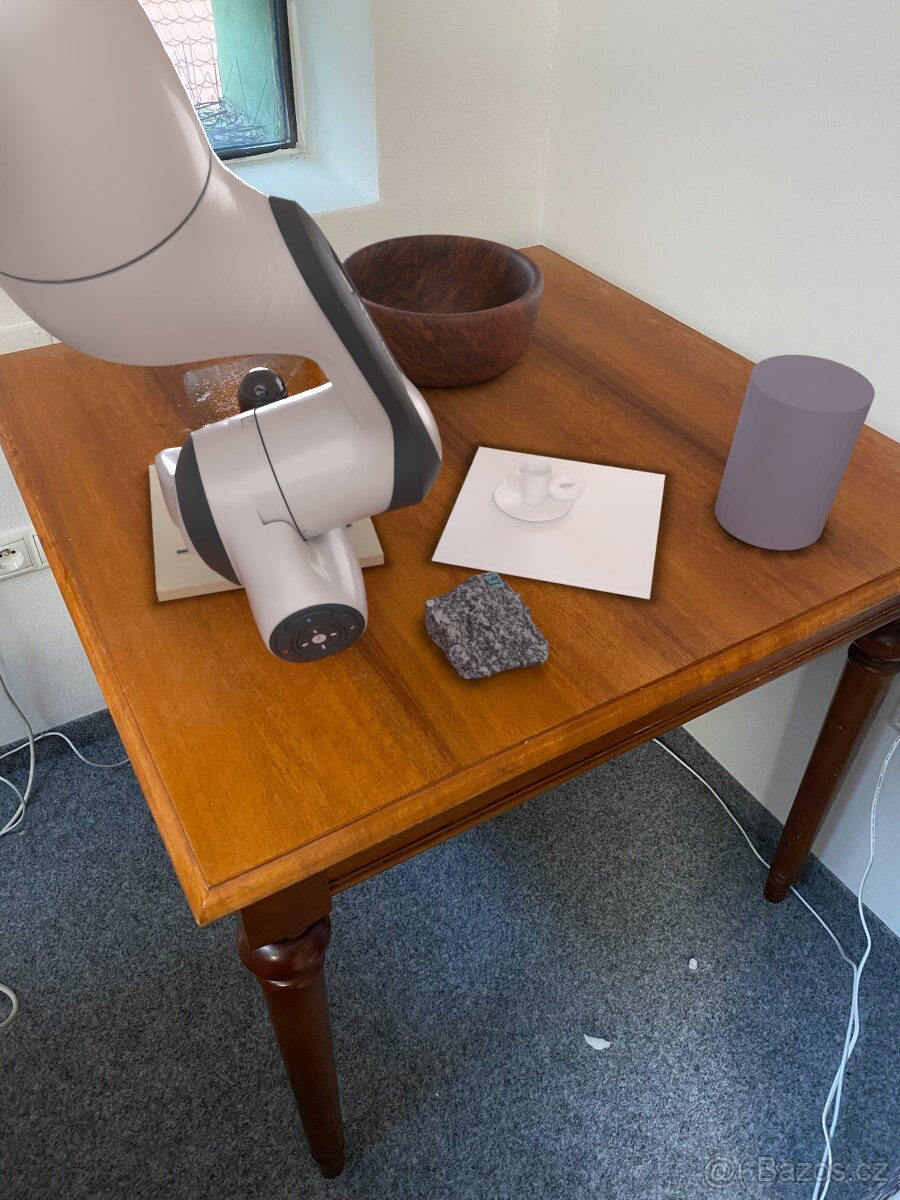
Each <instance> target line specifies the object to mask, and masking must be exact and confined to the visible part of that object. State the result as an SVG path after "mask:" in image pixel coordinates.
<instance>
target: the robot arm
mask: <svg viewBox="0 0 900 1200" xmlns="http://www.w3.org/2000/svg"><path fill="white" fill-rule="evenodd" d="M341 262H342V260H340V258H339V256H338V255H337V253H336V251H335V250H334V248H333V246H332V245H331V243H330V241H329V240H328V238H327V237H326V235H325V234H324V232H323V231H322V229H321V227H319V225H318V223H317V222H316V221H315V219H314V218H312V217H311V215H310V214H309V213H308V212H307V211H306V210H305V208H304V207H302V206H301V205H300V204H299V202H297V201H296V200H294V199H289V198H286V197H281V196H278V195H273V194H266V193H264V192H262V191H260V190H258V189H257V188H255V187H253V186H252V185H250V184H248V183H247V182H245V181H244V180H243V179H241V178H240V177H239V176H238V175H236V174H235V173H234V172H232V171H231V170H230V168H228V167H227V166H226V165H225V164H224V163H223V162H222V160H221V159H220V158H219V157H218V155H217V154H216V153H215V151H214V150H213V147H212V145H211V144H210V141H209V139H208V136H207V134H206V131H205V128H204V126H203V124H202V122H201V119H200V117H199V115H198V112H197V110H196V108H195V105H194V103H193V101H192V98H191V96H190V94H189V92H188V90H187V88H186V86H185V84H184V82H183V80H182V77H181V76H180V73H179V71H178V69H177V67H176V65H175V64H174V61H173V59H172V58H171V55H170V53H169V51H168V49H167V48H166V45H165V43H164V42H163V40H162V39H161V37H160V34H159V33H158V31H157V29H156V28H155V26H154V24H153V22H152V20H151V18H150V16H149V14H148V13H147V11H146V9H145V7H144V6H143V4H142V2H141V0H0V288H1V290H3V291H4V293H6V295H7V296H8V297H9V298H10V299H11V301H13V303H14V304H16V306H17V307H19V309H20V310H21V311H22V312H23V313H24V314H25V315H26V316H27V317H28V318H30V319H31V320H32V322H34V323H35V324H36V325H37V326H38V327H40V328H41V329H42V330H44V331H45V332H46V333H48V334H49V335H50V336H52V337H53V338H55V339H56V340H57V341H60V342H62V344H64V345H66V346H68V347H69V348H71V349H72V350H75V351H77V352H79V353H81V354H84V355H86V356H89V357H92V358H94V359H98V360H101V361H105V362H109V363H113V364H117V365H126V366H133V367H134V366H135V367H168V366H170V367H171V366H178V365H184V364H189V363H191V364H192V363H196V362H197V363H198V362H202V361H209V360H215V359H224V358H231V357H243V356H252V355H290V356H291V355H292V356H298V357H303V358H307V359H309V360H311V361H313V362H315V363H316V365H317V366H318V367H319V368H320V370H321V372H322V373H323V374H324V375H325V377H326V378H327V380H328V382H326V383H324V384H322V385H319V386H317V387H314V388H311V389H308V390H306V391H303V392H300V393H297V394H295V395H292V396H288V398H286V399H283V400H280V401H277V402H274V403H271V404H269V405H266V406H263V407H260V408H257V409H256V410H255V409H252V410H249V411H246V412H244V413H241V414H240V413H238V414H235V415H233V416H230V417H227V418H224V419H222V420H218V421H216V422H213V423H210V424H204V426H203V427H201V428H198V429H196V430H194V431H191V432H190V433H189V434H188V436H187V437H186V438H185V440H184V442H183V443H182V446H178V447H177V446H176V447H170V448H164V449H162V450H161V451H159V453H157V454H156V455H155V456H154V465H155V466H156V470H157V474H158V479H159V483H160V487H161V491H162V494H163V498H164V502H165V505H166V508H167V511H168V513H169V516H170V518H171V520H172V522H173V523H174V524H175V525H176V526H177V527H178V528H179V529H180V532H181V535H182V538H183V541H184V543H185V546H186V548H187V550H188V552H189V553H191V554H194V555H199V556H200V557H201V558H202V560H203V561H204V562H205V563H206V564H207V565H208V566H209V567H210V568H211V569H212V570H214V571H215V572H216V573H218V574H219V575H221V576H222V577H224V578H225V579H227V580H228V581H230V582H232V583H234V584H236V585H239V586H242V585H244V591H245V593H246V596H247V601H248V604H249V607H250V610H251V613H252V616H253V619H254V623H255V625H256V627H257V629H258V632H259V634H260V637H261V639H262V641H263V643H264V645H265V647H266V648H267V650H268V652H270V653H271V654H272V655H273V656H274V657H276V658H277V659H279V660H282V661H284V662H288V663H293V664H294V663H295V664H305V663H306V664H307V663H308V664H309V663H314V662H318V661H321V660H325V659H329V658H330V657H334V656H335V655H338V654H340V653H342V652H344V651H346V650H348V649H350V648H351V647H352V646H354V645H355V644H356V643H357V642H358V641H359V640H360V639H361V637H362V636H363V634H364V633H365V631H366V629H367V625H368V620H369V619H368V618H369V616H368V615H369V614H368V612H369V611H368V610H369V609H368V600H367V592H366V585H365V580H364V575H363V572H362V568H361V567H360V563H359V559H358V556H357V553H356V550H355V547H354V544H353V542H352V540H351V538H350V537H349V535H348V534H347V533H346V525H348V524H351V523H354V522H356V521H359V520H362V519H365V518H367V517H370V518H371V517H373V516H376V515H378V514H382V515H383V514H387V513H391V512H394V511H398V510H401V509H405V508H408V507H412V506H417V505H420V504H422V503H423V501H424V500H425V499H426V497H427V496H428V494H429V493H430V491H431V489H432V488H433V486H434V484H435V483H436V481H437V479H438V476H440V473H441V470H442V467H443V447H442V446H443V445H442V440H441V435H440V431H439V428H438V424H437V422H436V420H435V417H434V415H433V413H432V410H431V408H430V406H429V405H428V403H427V401H426V399H425V398H424V397H423V395H422V393H421V392H420V391H419V389H417V386H414V385H413V384H412V383H411V382H410V381H409V380H408V379H407V378H406V376H405V374H404V372H403V371H402V369H401V367H400V366H399V364H398V363H397V361H396V360H395V358H394V356H393V355H392V353H391V351H390V349H389V347H388V346H387V344H386V342H385V340H384V338H383V337H382V335H381V333H380V331H379V329H378V327H377V326H376V324H375V322H374V320H373V318H372V316H371V315H370V313H369V311H368V309H367V307H366V306H365V304H364V302H363V300H362V298H361V296H360V295H359V293H358V291H357V289H356V287H355V285H354V284H353V282H352V280H351V278H350V277H349V275H348V273H347V271H346V270H345V268H344V266H343V265H342V263H341Z"/></svg>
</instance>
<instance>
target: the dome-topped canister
mask: <svg viewBox="0 0 900 1200" xmlns="http://www.w3.org/2000/svg"><path fill="white" fill-rule="evenodd" d="M288 397H289V390H288V386H287V385H286V382H285V381H284V379H283V378H282V376H281V375H280V374H279V373H277V372H276V371H275V370H274V369H271V368H268V367H263V366H261V367H254V368H251V369H249V370H247V371H246V372H245V373H244V374H243V375H242V377H241V378H240V379H239V382H238V385H237V390H236V398H237V403H238V408H239V414H241V413H244V412H246V411H249V410H252V409H255V410H256V409H257V408H260V407H263V406H266V405H269V404H271V403H274V402H277V401H280V400H283V399H286V398H288Z"/></svg>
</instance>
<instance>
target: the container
mask: <svg viewBox="0 0 900 1200" xmlns="http://www.w3.org/2000/svg"><path fill="white" fill-rule="evenodd" d="M875 396H876V395H875V388H874V387H873V384H872V383H871V382H870V380H869V379H868V378H867V377H866V376H864V374H862V373H861V372H859V371H857V370H856V369H854V368H852V367H850V366H848V365H845V364H844V363H841V362H837V361H834V360H832V359H827V358H824V357H819V356H813V355H808V354H807V355H806V354H805V355H804V354H782V355H775V356H771V357H768V358H765V359H763V360H760V361H759V362H758V363H756V364H755V366H754V367H752V369H751V373H750V377H749V381H748V385H747V389H746V392H745V395H744V398H743V399H744V400H743V403H742V406H741V410H740V413H739V418H738V421H737V425H736V428H735V432H734V435H733V439H732V442H731V446H730V451H729V453H728V457H727V461H726V464H725V467H724V472H723V475H722V479H721V483H720V486H719V490H718V493H717V496H716V499H715V504H714V515H715V517H716V519H717V522H718V523H719V524H720V526H721V527H722V528H723V529H724V530H725V531H726V532H727V533H728V534H730V535H732V536H733V537H734V538H736V539H738V540H740V541H742V542H744V543H746V544H749V545H751V546H755V547H757V548H761V549H762V548H763V549H766V550H773V551H794V550H800V549H803V548H805V547H809V546H810V545H812V544H814V543H815V542H816V541H818V540H819V538H820V537H821V535H822V533H823V531H824V528H825V525H826V522H827V521H828V518H829V515H830V512H831V510H832V507H833V505H834V502H835V499H836V496H837V494H838V491H839V489H840V487H841V484H842V481H843V479H844V476H845V473H846V471H847V468H848V466H849V463H850V461H851V458H852V455H853V453H854V450H855V448H856V445H857V442H858V440H859V438H860V435H861V433H862V431H863V427H864V425H865V423H866V420H867V417H868V415H869V412H870V409H871V407H872V405H873V402H874V399H875Z"/></svg>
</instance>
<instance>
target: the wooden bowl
mask: <svg viewBox="0 0 900 1200" xmlns="http://www.w3.org/2000/svg"><path fill="white" fill-rule="evenodd" d="M341 263H342V265H343V266H344V268H345V270H346V271H347V273H348V275H349V277H350V278H351V280H352V282H353V284H354V285H355V287H356V289H357V291H358V293H359V295H360V296H361V298H362V300H363V302H364V304H365V306H366V307H367V309H368V311H369V313H370V315H371V316H372V318H373V320H374V322H375V324H376V326H377V327H378V329H379V331H380V333H381V335H382V337H383V338H384V340H385V342H386V344H387V346H388V347H389V349H390V351H391V353H392V355H393V356H394V358H395V360H396V361H397V363H398V364H399V366H400V367H401V369H402V371H403V372H404V374H405V376H406V378H407V379H408V380H409V381H410V382H411V383H412V384H413V385H414V386H415V387H422V388H435V389H436V388H437V389H446V388H448V389H449V388H458V387H459V388H460V387H467V386H471V385H477V384H480V383H484V382H486V381H488V380H491V379H494V378H496V377H497V376H499V375H501V374H502V373H504V372H506V371H507V370H509V368H511V367H512V366H513V364H515V362H516V361H517V360H518V359H519V357H521V354H522V353H523V352H524V350H525V349H526V347H527V345H528V344H529V341H530V339H531V336H532V334H533V331H534V328H535V325H536V322H537V320H538V315H539V311H540V307H541V303H542V298H543V293H544V287H545V279H544V273H543V271H542V269H541V268H540V266H539V265H538V264H537V263H536V262H535V261H534V260H533V259H532V258H531V257H529V256H528V255H526V254H525V253H523V252H522V251H520V250H518V249H515V248H513V247H511V246H509V245H506V244H503V243H501V242H497V241H493V240H489V239H485V238H479V237H475V236H474V237H473V236H467V235H460V234H459V235H458V234H457V235H456V234H438V233H437V234H433V233H431V234H413V235H403V236H398V237H392V238H387V239H383V240H379V241H376V242H373V243H370V244H367V245H364V246H363V247H360V248H358V249H356V250H355V251H352V253H350V254H349V255H347V256H346V257H345V258H343V259H342V260H341Z"/></svg>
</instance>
